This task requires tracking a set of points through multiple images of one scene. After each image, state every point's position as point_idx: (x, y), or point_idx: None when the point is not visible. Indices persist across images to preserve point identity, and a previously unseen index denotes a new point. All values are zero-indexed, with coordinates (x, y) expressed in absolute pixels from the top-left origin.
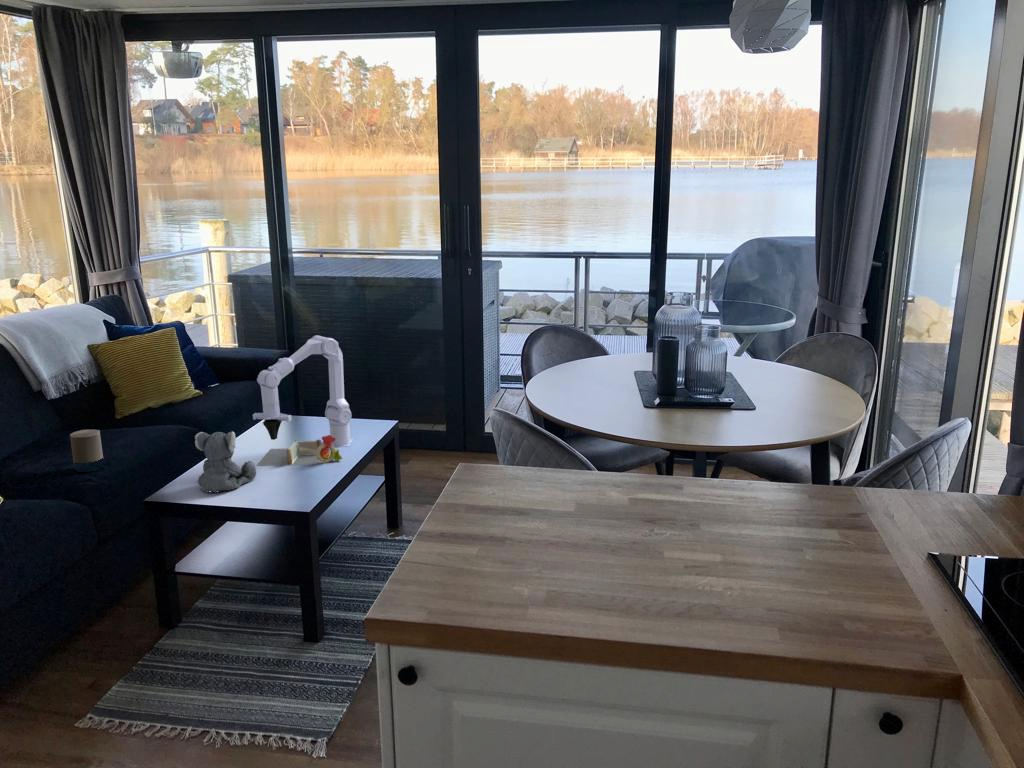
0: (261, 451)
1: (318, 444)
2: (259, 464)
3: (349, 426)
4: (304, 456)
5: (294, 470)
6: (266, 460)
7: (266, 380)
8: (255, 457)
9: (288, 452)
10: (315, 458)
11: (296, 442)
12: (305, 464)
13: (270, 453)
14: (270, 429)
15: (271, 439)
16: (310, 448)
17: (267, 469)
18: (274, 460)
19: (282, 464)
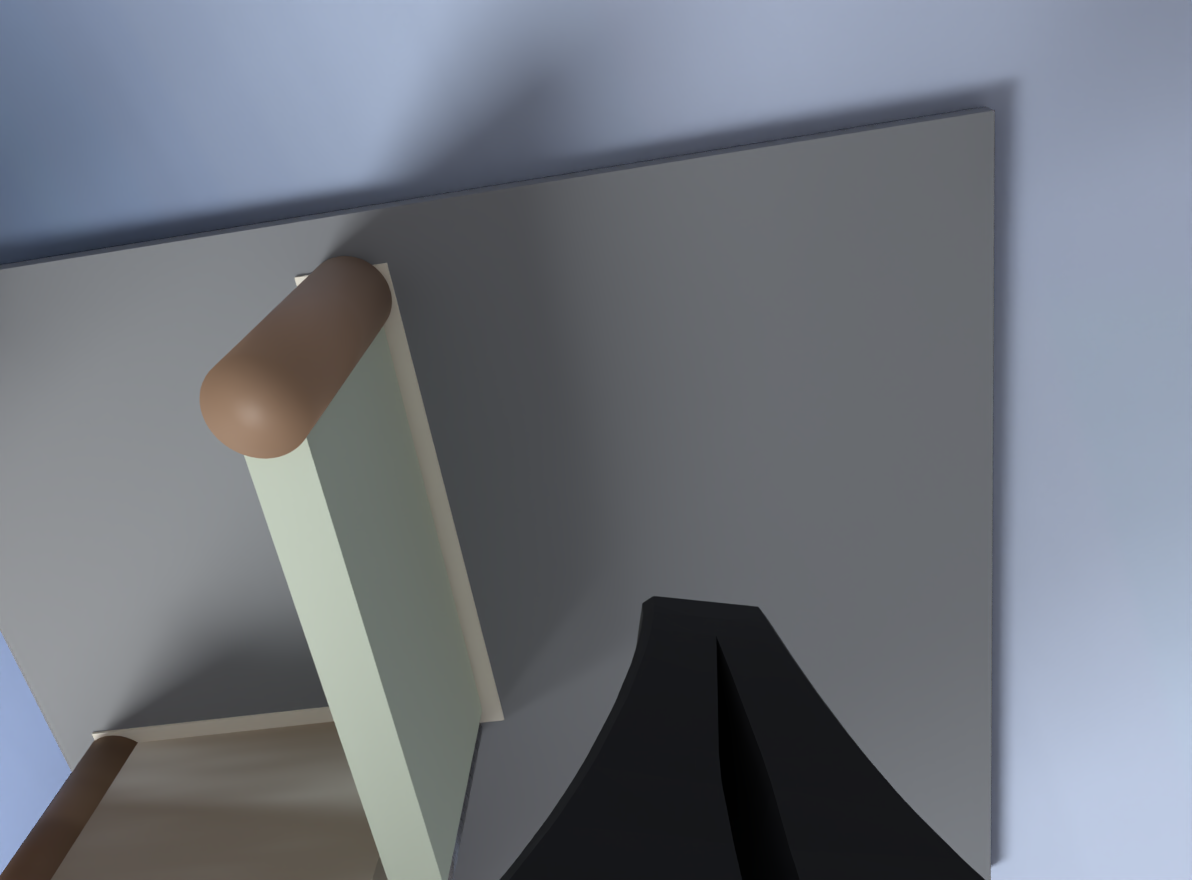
0: (1113, 819)
1: (21, 868)
2: (946, 201)
3: None
4: (296, 645)
5: (112, 6)
6: (879, 423)
7: None
8: (1144, 589)
9: (253, 340)
10: (59, 576)
11: (380, 857)
12: (42, 288)
13: (923, 723)
14: (780, 863)
15: (749, 606)
16: (207, 804)
17: (698, 3)
18: (727, 436)
19: (479, 248)
